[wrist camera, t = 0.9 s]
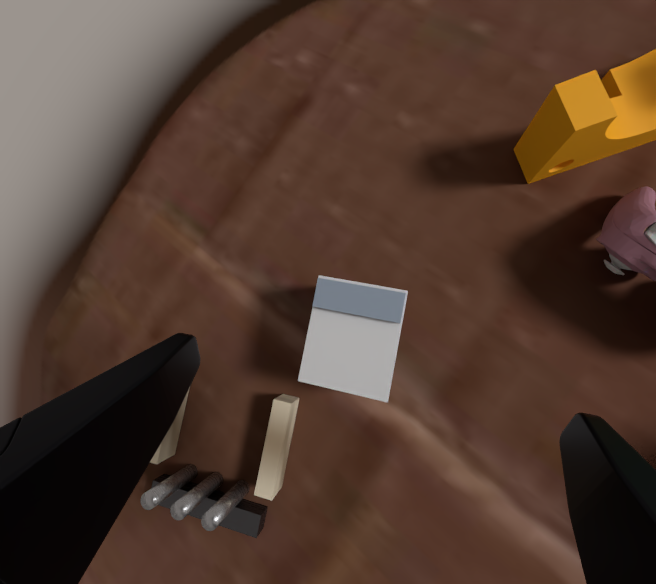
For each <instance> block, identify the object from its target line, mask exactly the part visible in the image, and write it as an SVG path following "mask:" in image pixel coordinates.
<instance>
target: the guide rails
mask: <svg viewBox="0 0 656 584" xmlns="http://www.w3.org/2000/svg"><path fill="white" fill-rule="evenodd" d="M189 389H190V388H189ZM188 394H189V390H188V392H187V394H186V396H185V399H184V401H183V403H182V405H181V407H180V409H179V412H178V414H177V416H176V418H175V420H174V422H173V423H172V425H171V427H170V429H169V431H168V432H167V434H166V436H165V437H164V439H163V441H162V442H161V444H160V446H159V448H158V449H157V451H156V453H155V454H154V456H153V458H152V459H151V461H150V463H153V464H156V465H157V464H159V463H161V462H162V461H164V460H166V459H168V458H170V457H171V456H173V455H175V452H176V447H177V443H178V438H179V434H180V429H181V425H182V420H183V416H184V411H185V407H186V402H187V398H188ZM298 403H299V398H298V397H294V396H290V395H286V394H282V395H280V396H278V397H277V398H275V399H274V400H273V405H272V410H271V414H270V419H269V424H268V429H267V434H266V439H265V444H264V449H263V453H262V458H261V463H260V468H259V473H258V478H257V483H256V488H255V492H254V495H255V496H259V497H262V498H265V499H268V500H271V501H272V500H273V498H274V497H275V496H276V494H277V493H278V492H279V490H280V489H281V487H282V483H283V478H284V473H285V468H286V463H287V458H288V453H289V448H290V443H291V438H292V433H293V428H294V423H295V418H296V413H297V408H298Z"/></svg>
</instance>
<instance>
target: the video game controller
mask: <svg viewBox="0 0 656 584" xmlns="http://www.w3.org/2000/svg"><path fill="white" fill-rule="evenodd" d="M655 199H656V193H655V191H654V190H653V189H652V188H650V187H640V188H637V189H635V190H633V191H631V192H630V193H628V194H627V195H625V196H624V197H623V198H621V199H620V200H619V201H618V202H617V203H616V204H615V205H614V206H613V208H612V209H611V210H610V212H609V213H608V215H607V217H606V219H605V221H604V223H603V226H602V233H601V235H600V236H599V237H598V238H597V239H596V240H597V241H599V242H600V243H601V244H603V245H604V246H605V248H606V250H607V252H608V253H609V257H610V259H611V261H612V262H611V263H610V262H608V261H607V260H604V262H605V265H606V267H607V268H608V269H609V270H611V271H612V272H614V273H615V274H621V275H625V274H624V273H623V272H622V271H621V270H620V269H626V270H633V271H635V272H639V273H643V274H644V275H646V276H647V277H649V278H650V279H652V280H653V281H656V211H655Z"/></svg>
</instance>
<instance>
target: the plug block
mask: <svg viewBox="0 0 656 584" xmlns="http://www.w3.org/2000/svg"><path fill="white" fill-rule="evenodd" d="M407 294H408V291H406V290H400V289H394V288H389V287H383V286H377V285H372V284H366V283H360V282H354V281H349V280H343V279H337V278H331V277H326V276H320V275H319V278H318V281H317V286H316V291H315V296H314V301H313V307H312V312H311V317H310V322H309V327H308V332H307V337H306V342H305V347H304V352H303V357H302V362H301V367H300V372H299V377H298V381H300V382H304V383H308V384H312V385H317V386H321V387H325V388H329V389H333V390H338V391H342V392H346V393H350V394H354V395H359V396H363V397H367V398H371V399H375V400H380V401H384V402H388V399H389V393H390V388H391V382H392V376H393V371H394V365H395V360H396V354H397V349H398V343H399V338H400V332H401V327H402V321H403V316H404V310H405V305H406V299H407Z"/></svg>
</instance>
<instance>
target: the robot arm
mask: <svg viewBox="0 0 656 584" xmlns="http://www.w3.org/2000/svg"><path fill="white" fill-rule="evenodd" d="M199 365H200V354H199V350H198V345H197V340H196V338H195V337H194V336H193V335H189V334H184V333H177V334H175V335H173V336H171V337H169V338H167V339H166V340H164V341H162V342H160V343H158V344H156V345H154V346H152V347H151V348H149V349H147V350H145V351H143V352H141V353H139V354H137V355H136V356H134V357H132V358H130V359H128V360H126V361H124V362H123V363H121V364H119V365H117V366H115V367H113V368H111V369H109V370H108V371H106V372H104V373H102V374H100V375H98V376H96V377H94V378H93V379H91V380H89V381H87V382H85V383H83V384H81V385H79V386H78V387H76V388H74V389H72V390H70V391H68V392H66V393H64V394H63V395H61V396H59V397H57V398H55V399H53V400H51V401H49V402H48V403H46V404H44V405H42V406H40V407H38V408H36V409H34V410H33V411H31V412H29V413H27V414H25V415H24V416H23V417H22V418H18V419H16V420H14V421H12V422H10V423H8V424H6V425H4V426H3V427H1V428H0V584H78V583H79V581H80V580H81V578H82V576H83V575H84V573H85V571H86V569H87V568H88V566H89V564H90V563H91V561H92V559H93V558H94V556H95V554H96V553H97V551H98V549H99V547H100V546H101V544H102V542H103V541H104V539H105V537H106V536H107V534H108V532H109V531H110V529H111V527H112V525H113V524H114V522H115V520H116V519H117V517H118V515H119V514H120V512H121V510H122V508H123V507H124V505H125V503H126V502H127V500H128V498H129V497H130V495H131V493H132V492H133V490H134V488H135V486H136V485H137V483H138V481H139V480H140V478H141V476H142V475H143V473H144V471H145V470H146V468H147V466H148V464H149V463H150V461H151V459H152V458H153V456H154V454H155V453H156V451H157V449H158V448H159V446H160V444H161V442H162V441H163V439H164V437H165V436H166V434H167V432H168V431H169V429H170V427H171V425H172V423H173V422H174V420H175V418H176V416H177V414H178V412H179V409H180V407H181V405H182V403H183V401H184V399H185V396H186V394H187V392H188V390H189V388H190V385H191V383H192V381H193V379H194V377H195V374H196V372H197V370H198V368H199ZM560 450H561V458H562V465H563V472H564V480H565V487H566V494H567V501H568V508H569V513H570V518H571V523H572V527H573V531H574V535H575V539H576V543H577V547H578V551H579V555H580V559H581V563H582V567H583V571H584V575H585V579H586V583H587V584H656V470H655V469H654V468H653V467H652V466H651V465H650V464H649V463H648V462H647V461H646V460H645V459H644V458H643V457H642V456H641V455H640V454H639V453H638V452H637V451H636V450H635V449H634V448H633V447H632V446H631V445H629V444H628V443H627V442H626V441H625V440H624V439H623V438H622V437H621V436H620V435H619V434H618V433H617V432H616V431H615V430H614V429H613V428H612V427H611V426H610V425H609V424H608V423H607V422H606V421H605V420H604V419H602V418H601V417H599V416H596V415H591V414H586V413H578V414H576V415H575V416H574V417H573V418H572V420H571V421H570V422H569V424H568V425H567V426H566V428H565V429H564V431H563V432H562V434H561V436H560Z"/></svg>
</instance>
